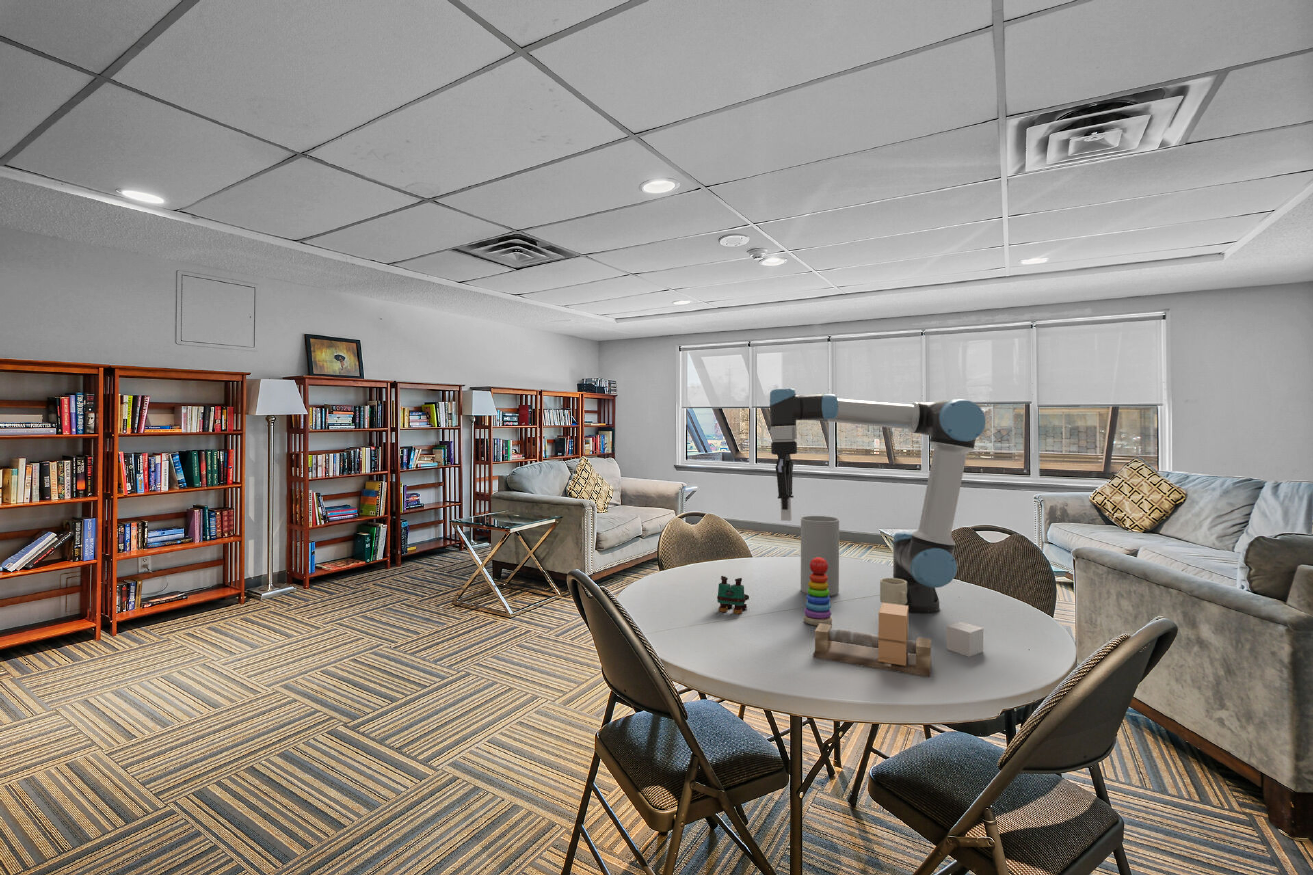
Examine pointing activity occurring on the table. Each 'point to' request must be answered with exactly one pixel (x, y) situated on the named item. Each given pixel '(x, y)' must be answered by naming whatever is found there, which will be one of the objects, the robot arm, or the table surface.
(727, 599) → the binoculars
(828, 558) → the cylinder vase
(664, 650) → the table surface
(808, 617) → the stacking toy
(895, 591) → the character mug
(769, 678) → the table surface
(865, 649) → the pipe stand
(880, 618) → the wooden block
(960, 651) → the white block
